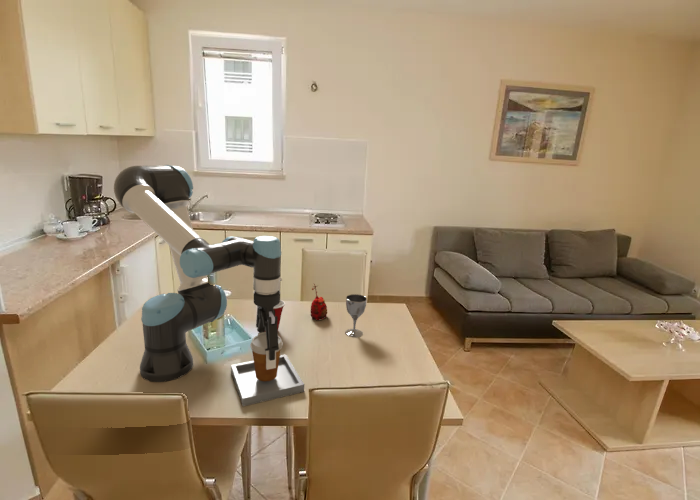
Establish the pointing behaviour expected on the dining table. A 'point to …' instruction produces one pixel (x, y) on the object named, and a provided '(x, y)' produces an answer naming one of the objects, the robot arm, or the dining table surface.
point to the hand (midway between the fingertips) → (266, 359)
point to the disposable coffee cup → (264, 358)
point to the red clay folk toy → (318, 307)
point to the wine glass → (355, 312)
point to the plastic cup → (279, 311)
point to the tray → (266, 382)
